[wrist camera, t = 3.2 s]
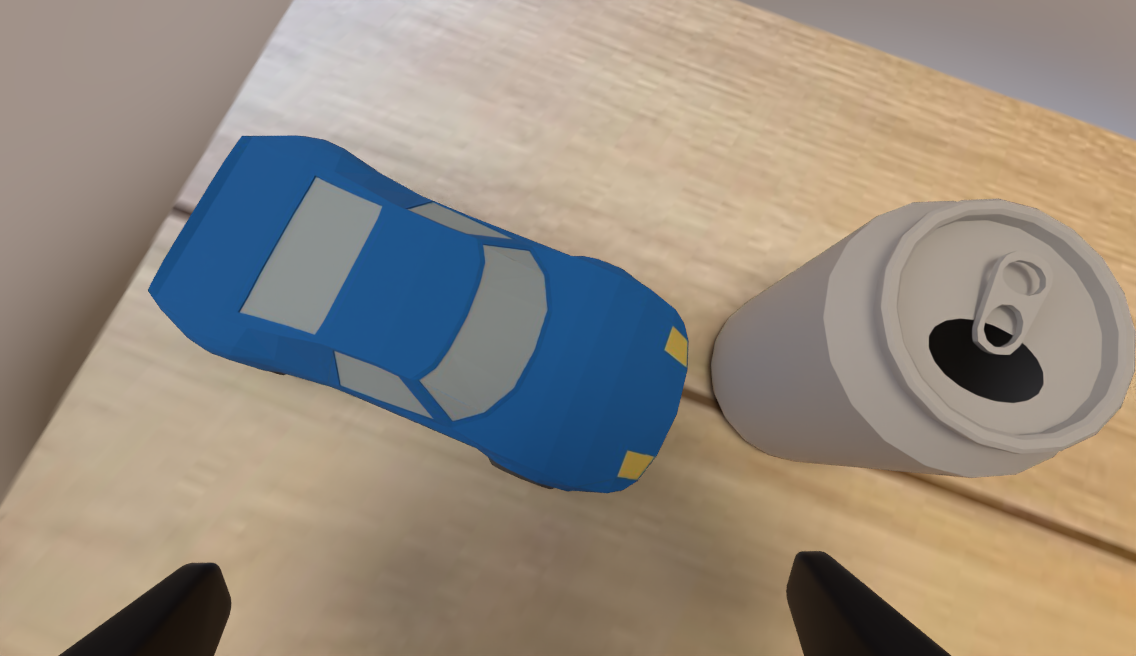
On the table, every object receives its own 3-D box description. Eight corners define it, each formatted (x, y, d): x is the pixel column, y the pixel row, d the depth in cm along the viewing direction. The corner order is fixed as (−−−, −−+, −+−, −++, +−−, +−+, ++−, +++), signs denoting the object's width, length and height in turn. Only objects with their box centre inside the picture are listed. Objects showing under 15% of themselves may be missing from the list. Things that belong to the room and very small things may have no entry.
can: (680, 419, 23) (821, 401, 12) (736, 272, 25) (910, 124, 13) (838, 488, 23) (1146, 540, 11) (885, 334, 25) (1197, 241, 13)
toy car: (627, 520, 22) (651, 543, 17) (193, 338, 23) (99, 311, 18) (699, 320, 24) (738, 291, 19) (297, 157, 25) (238, 90, 20)
